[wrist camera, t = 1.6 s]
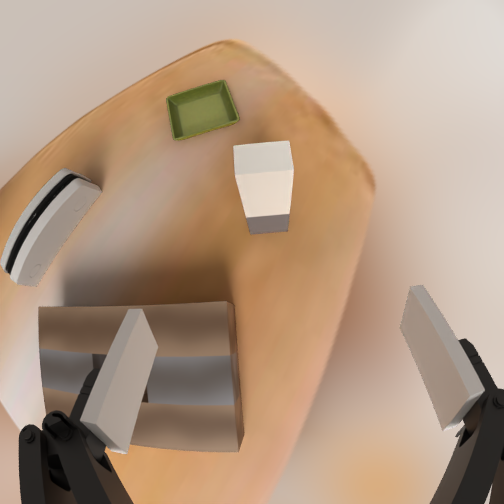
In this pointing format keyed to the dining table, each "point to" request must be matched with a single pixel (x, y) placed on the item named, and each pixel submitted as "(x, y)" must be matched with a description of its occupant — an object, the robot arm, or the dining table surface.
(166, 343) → the post foot
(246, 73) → the dining table surface
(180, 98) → the olive green shallow tray
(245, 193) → the rail end
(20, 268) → the grey curved slotted block
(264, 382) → the dining table surface
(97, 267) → the dining table surface
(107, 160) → the dining table surface
